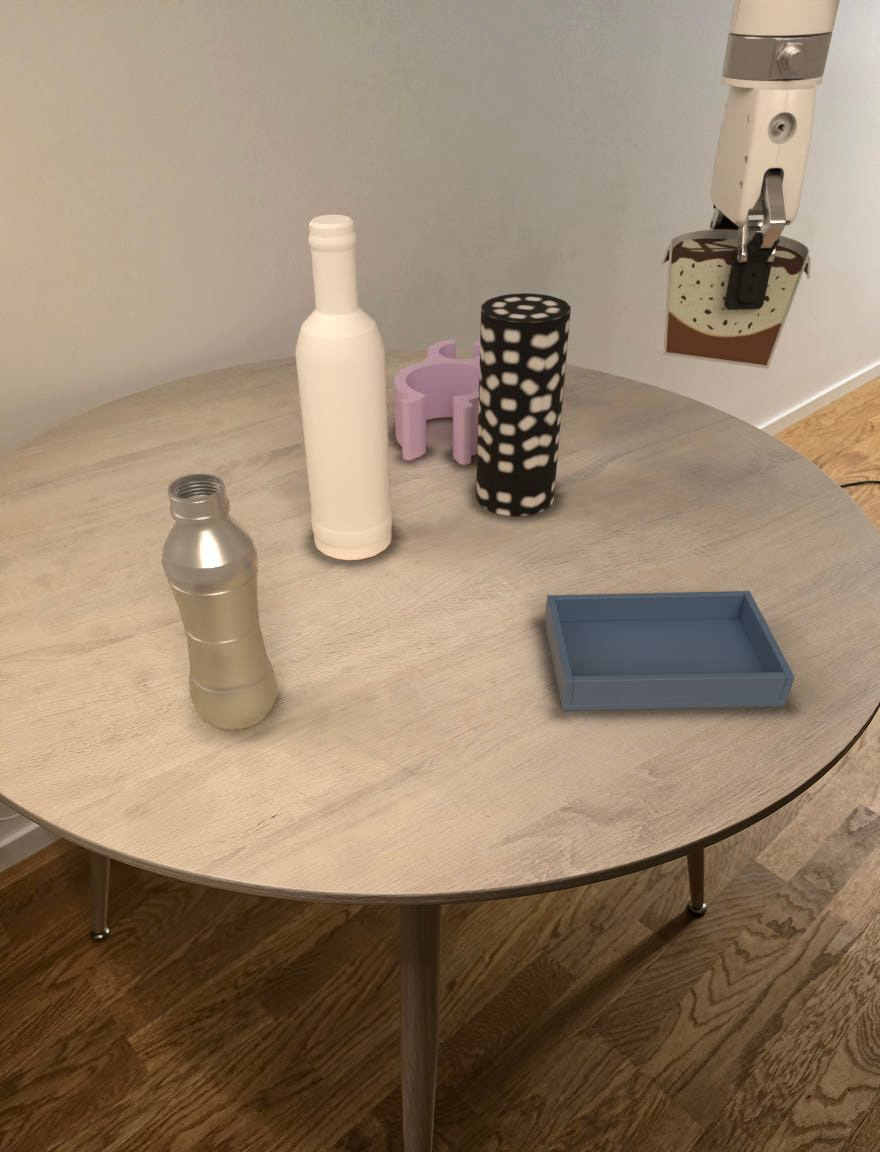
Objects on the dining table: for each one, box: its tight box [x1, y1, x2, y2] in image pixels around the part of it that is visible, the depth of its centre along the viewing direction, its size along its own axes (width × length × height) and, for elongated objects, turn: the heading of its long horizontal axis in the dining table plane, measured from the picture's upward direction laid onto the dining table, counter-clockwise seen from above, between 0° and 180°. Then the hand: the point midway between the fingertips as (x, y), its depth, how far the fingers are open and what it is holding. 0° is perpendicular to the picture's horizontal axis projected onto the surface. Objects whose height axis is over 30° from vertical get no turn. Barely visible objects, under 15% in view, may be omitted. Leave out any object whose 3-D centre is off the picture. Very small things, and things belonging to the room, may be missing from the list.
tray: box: [544, 590, 796, 712], centre depth 73 cm, size 17×11×3 cm, turn 90°
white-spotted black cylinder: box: [475, 292, 572, 517], centre depth 90 cm, size 8×8×20 cm
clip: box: [393, 339, 480, 466], centre depth 108 cm, size 20×12×7 cm, turn 167°
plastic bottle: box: [161, 473, 278, 731], centre depth 64 cm, size 6×7×20 cm
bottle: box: [294, 214, 393, 561], centre depth 80 cm, size 8×8×30 cm
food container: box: [660, 229, 811, 370], centre depth 81 cm, size 12×6×10 cm, turn 66°
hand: (730, 292), depth 81 cm, fingers closed on food container, 7 cm apart
